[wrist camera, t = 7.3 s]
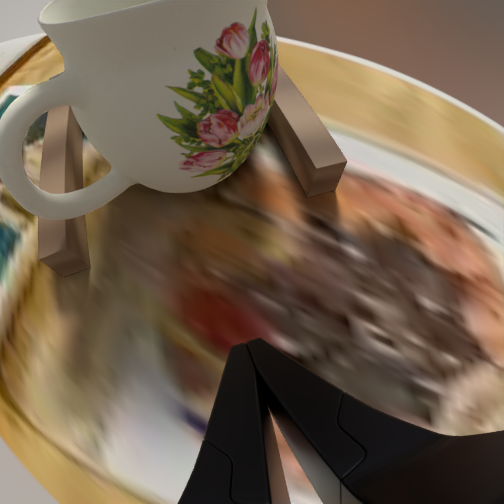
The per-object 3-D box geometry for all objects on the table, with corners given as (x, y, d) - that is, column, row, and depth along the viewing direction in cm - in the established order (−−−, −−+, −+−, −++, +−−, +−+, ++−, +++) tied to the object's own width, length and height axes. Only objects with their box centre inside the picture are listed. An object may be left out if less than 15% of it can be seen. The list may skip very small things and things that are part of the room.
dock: (335, 189, 19) (351, 149, 16) (64, 276, 17) (28, 252, 13) (248, 53, 25) (248, 19, 22) (65, 108, 23) (49, 78, 19)
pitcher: (45, 215, 19) (-70, 79, 6) (210, 72, 24) (198, -69, 11) (141, 319, 16) (-58, 170, 3) (319, 124, 22) (357, -48, 9)
